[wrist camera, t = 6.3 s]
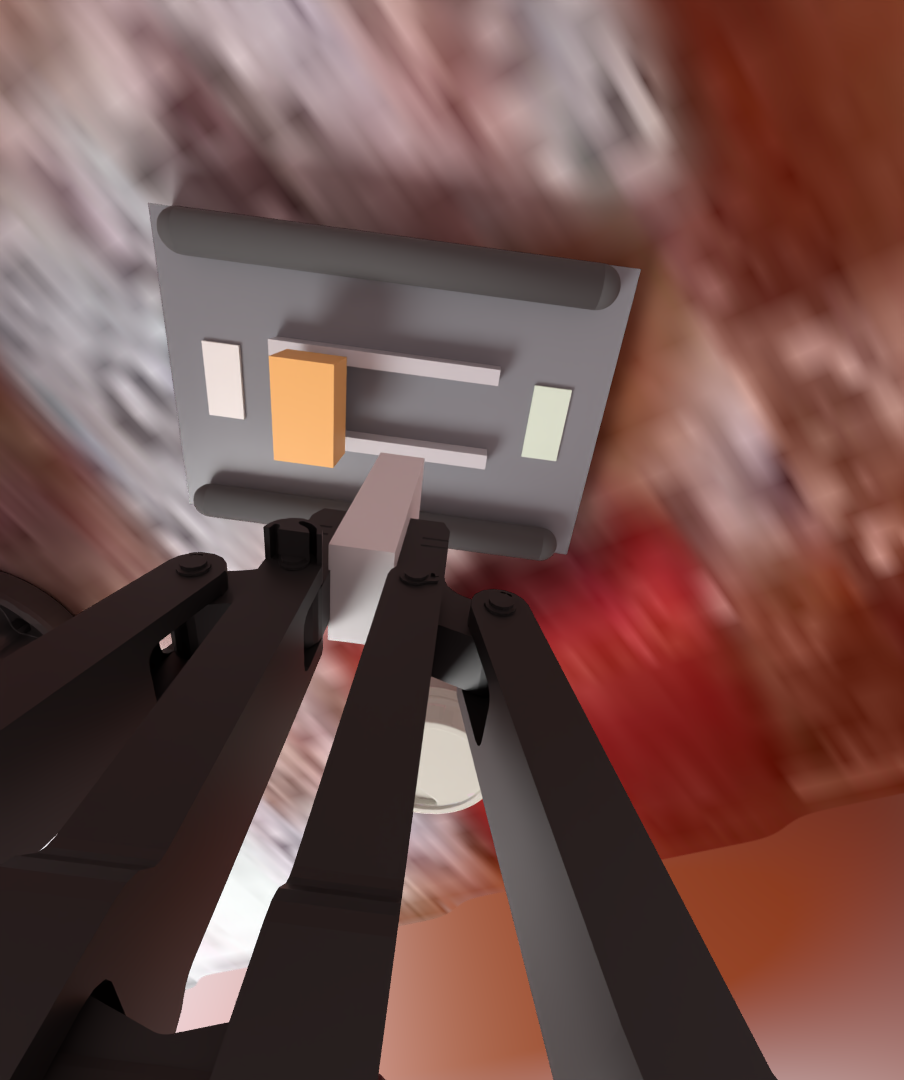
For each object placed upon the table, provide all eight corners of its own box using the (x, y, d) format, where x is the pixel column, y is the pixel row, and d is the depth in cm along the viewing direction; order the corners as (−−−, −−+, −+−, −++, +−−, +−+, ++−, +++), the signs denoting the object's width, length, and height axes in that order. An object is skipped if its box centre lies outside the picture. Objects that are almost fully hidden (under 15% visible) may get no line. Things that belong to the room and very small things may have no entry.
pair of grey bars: (205, 506, 32) (189, 519, 30) (168, 205, 24) (143, 200, 23) (551, 552, 32) (554, 568, 30) (620, 266, 24) (630, 266, 23)
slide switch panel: (205, 491, 34) (179, 511, 31) (170, 207, 26) (132, 199, 23) (562, 539, 34) (569, 564, 31) (630, 269, 26) (647, 269, 23)
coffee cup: (372, 594, 37) (326, 724, 26) (488, 575, 35) (489, 704, 25) (404, 681, 41) (375, 826, 30) (510, 667, 39) (518, 814, 29)
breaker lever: (302, 435, 29) (273, 460, 25) (300, 343, 27) (268, 355, 23) (353, 442, 29) (333, 468, 25) (356, 351, 27) (333, 364, 23)
